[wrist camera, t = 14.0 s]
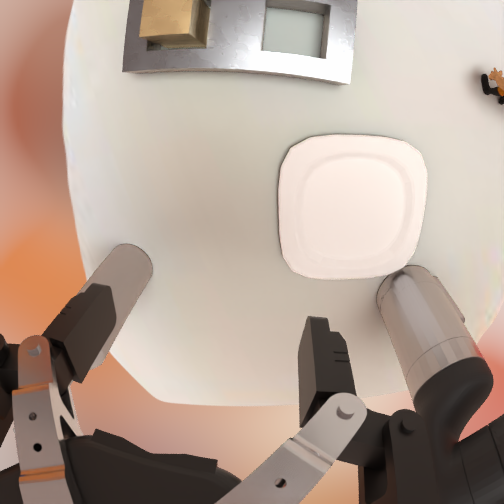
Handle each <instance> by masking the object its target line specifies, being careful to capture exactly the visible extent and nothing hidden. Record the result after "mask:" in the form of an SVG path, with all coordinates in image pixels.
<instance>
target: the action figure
mask: <svg viewBox="0 0 504 504" xmlns="http://www.w3.org/2000/svg"><path fill="white" fill-rule="evenodd" d="M488 77H489V79H490V80H492V79H493V80H495V81H496V83H497V85H498V86H499V87H495V88H490V86H489V82H488ZM482 85H483V90H484V93H485V94H487V95H489V94H493V95H495V96H501V98H500V99H499V103H500V104H501V105H502V104H504V78H503V77H502V71H499V72H497V71H496V68H494V72H493V71H491V74H490V75H489V76H487V75H486V74H483V75H482Z"/></svg>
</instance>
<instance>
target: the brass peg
mask: <svg viewBox="0 0 504 504" xmlns="http://www.w3.org/2000/svg"><path fill="white" fill-rule="evenodd" d="M209 17H210V9H209V7H208V6H207V5H206V3H205V2H204V1H203V0H144V3H143V10H142V17H141V25H140V34H139V37H140V38H143V39H146V40H149V41H151V42H154V43H156V44H159V45H161V46H164V47H166V48H184V47H206V46H207V36H208V26H209Z"/></svg>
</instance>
